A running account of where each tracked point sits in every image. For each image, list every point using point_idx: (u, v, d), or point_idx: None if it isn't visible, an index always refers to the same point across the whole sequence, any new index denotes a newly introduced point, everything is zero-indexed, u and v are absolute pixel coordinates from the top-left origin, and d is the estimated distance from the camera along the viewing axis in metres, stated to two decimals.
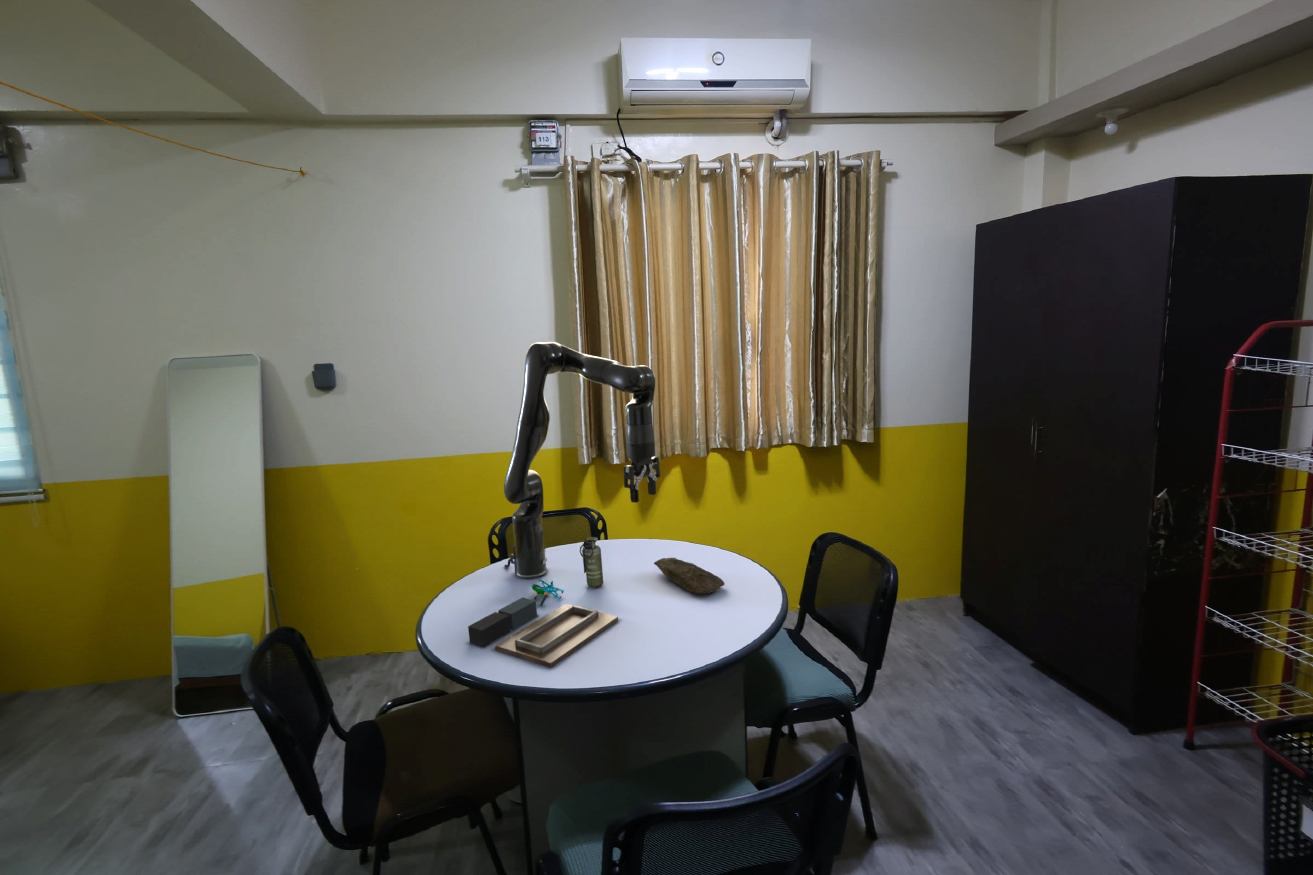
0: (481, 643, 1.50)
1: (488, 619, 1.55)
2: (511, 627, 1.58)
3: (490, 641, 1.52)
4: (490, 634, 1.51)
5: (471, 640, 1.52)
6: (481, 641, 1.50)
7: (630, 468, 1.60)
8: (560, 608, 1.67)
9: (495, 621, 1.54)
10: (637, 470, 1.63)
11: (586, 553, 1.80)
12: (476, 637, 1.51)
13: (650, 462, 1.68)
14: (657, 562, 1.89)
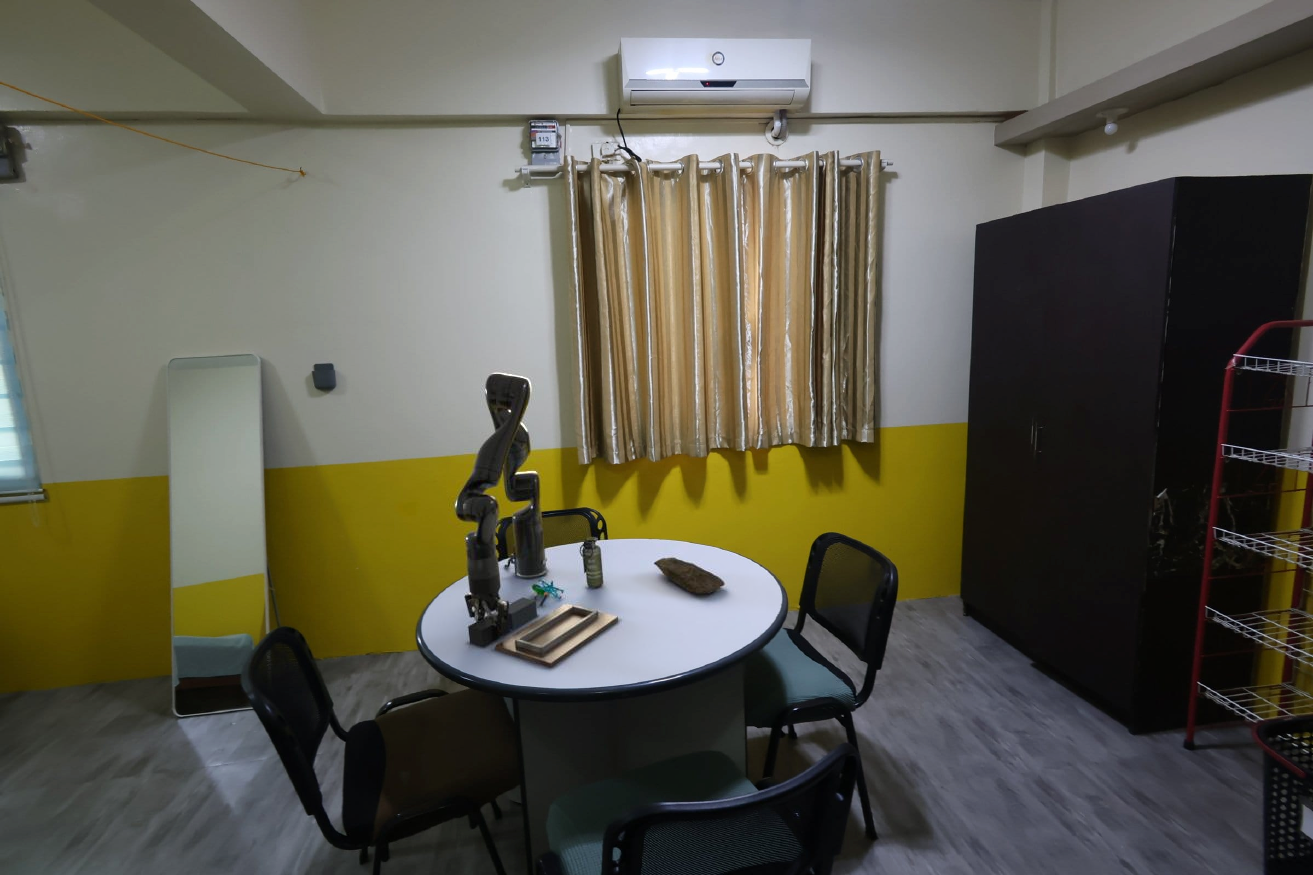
0: (481, 643, 1.50)
1: (488, 619, 1.55)
2: (511, 627, 1.58)
3: (490, 641, 1.52)
4: (490, 635, 1.51)
5: (471, 640, 1.52)
6: (481, 641, 1.50)
7: None
8: (560, 608, 1.67)
9: None
10: (474, 599, 1.54)
11: (586, 553, 1.80)
12: (476, 637, 1.51)
13: (490, 602, 1.51)
14: (657, 562, 1.89)
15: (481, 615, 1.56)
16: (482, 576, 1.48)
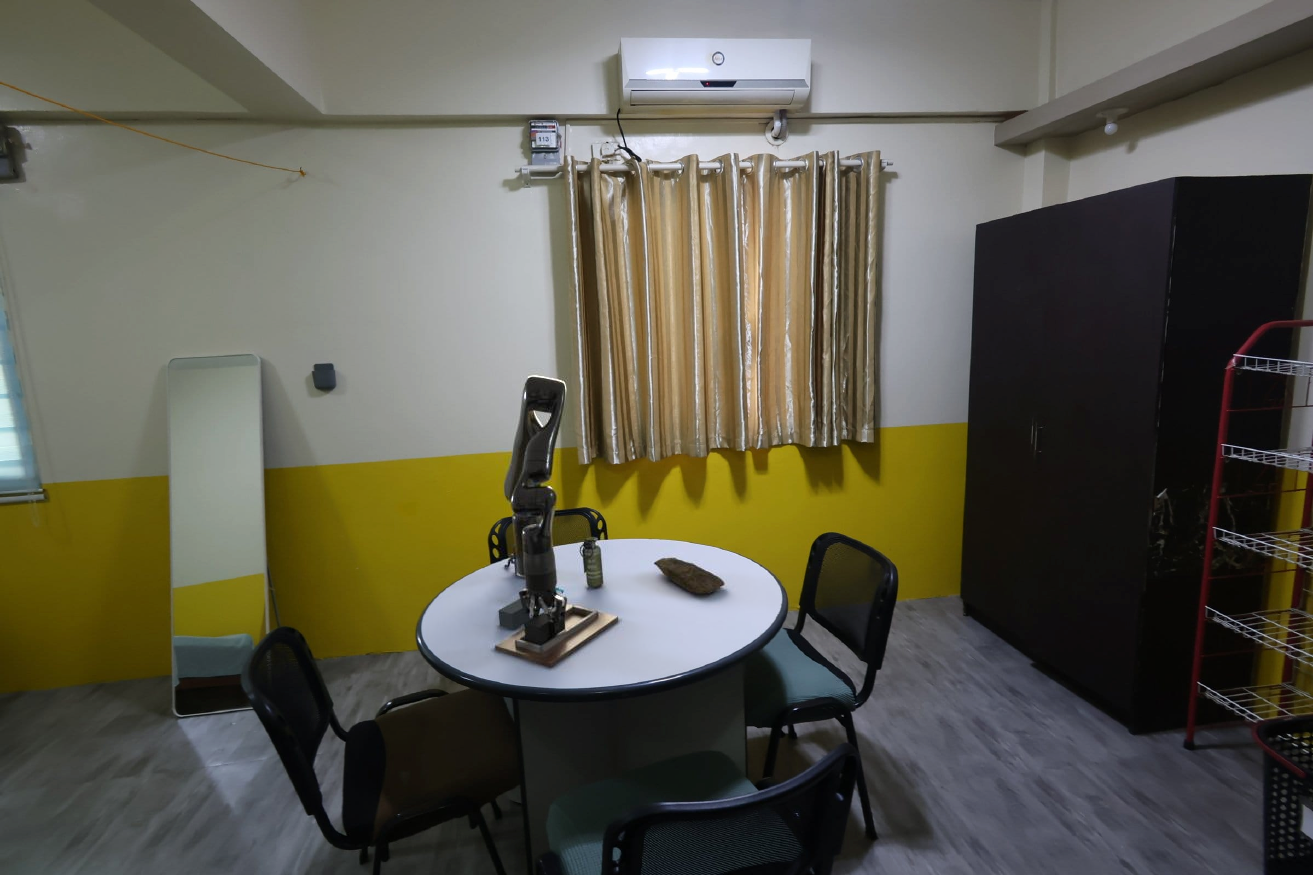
0: (538, 641, 1.45)
1: (543, 616, 1.50)
2: (511, 627, 1.58)
3: (547, 638, 1.47)
4: (546, 632, 1.47)
5: (527, 637, 1.47)
6: (538, 638, 1.45)
7: None
8: None
9: None
10: (529, 595, 1.50)
11: (586, 553, 1.80)
12: (533, 635, 1.46)
13: (547, 598, 1.46)
14: (657, 562, 1.89)
15: (536, 612, 1.51)
16: (540, 571, 1.44)
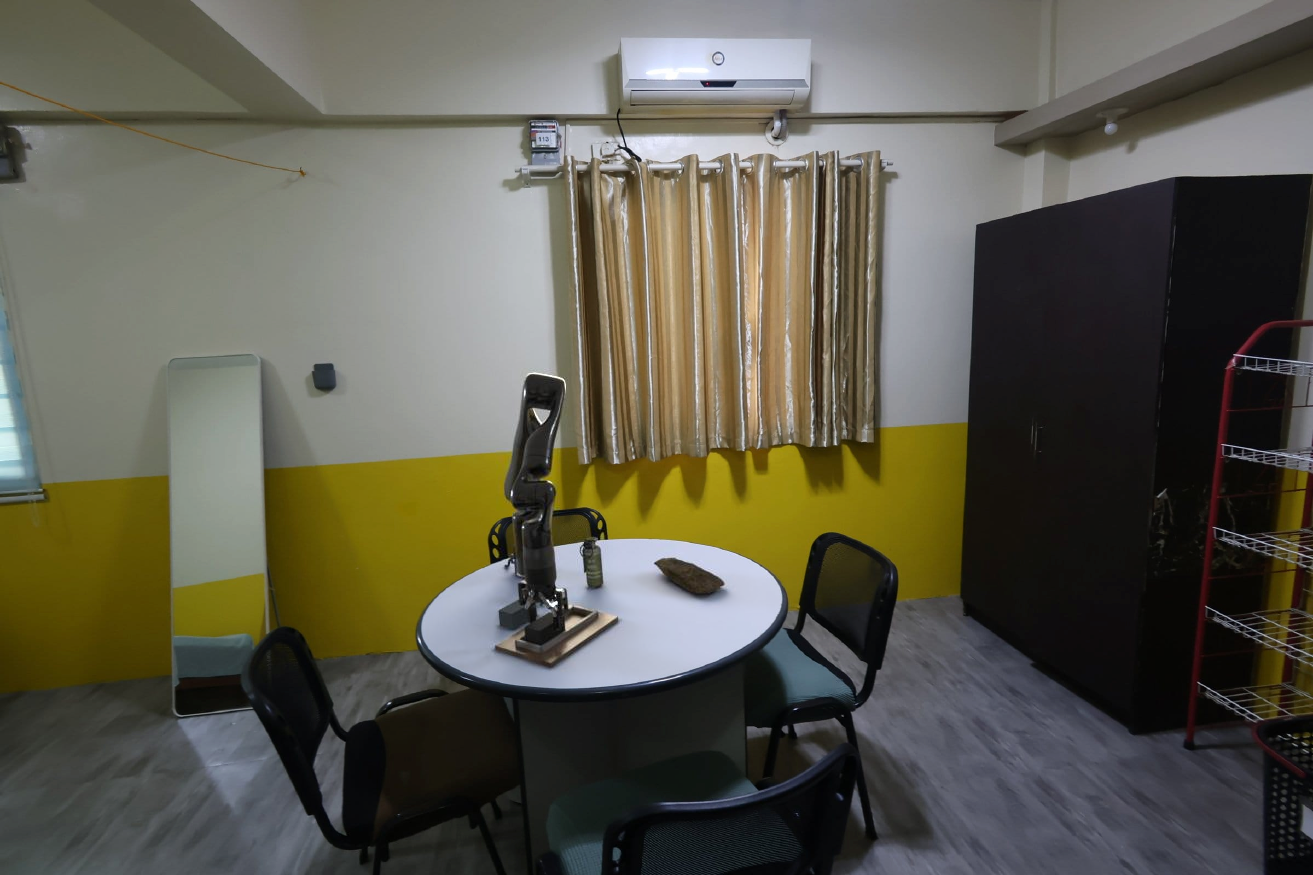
0: None
1: (544, 619, 1.50)
2: (511, 627, 1.58)
3: None
4: (547, 635, 1.47)
5: (527, 641, 1.47)
6: (538, 642, 1.45)
7: None
8: None
9: (551, 621, 1.49)
10: (528, 590, 1.50)
11: (586, 553, 1.80)
12: (533, 638, 1.46)
13: (547, 592, 1.46)
14: (657, 562, 1.89)
15: (531, 603, 1.52)
16: (539, 566, 1.44)
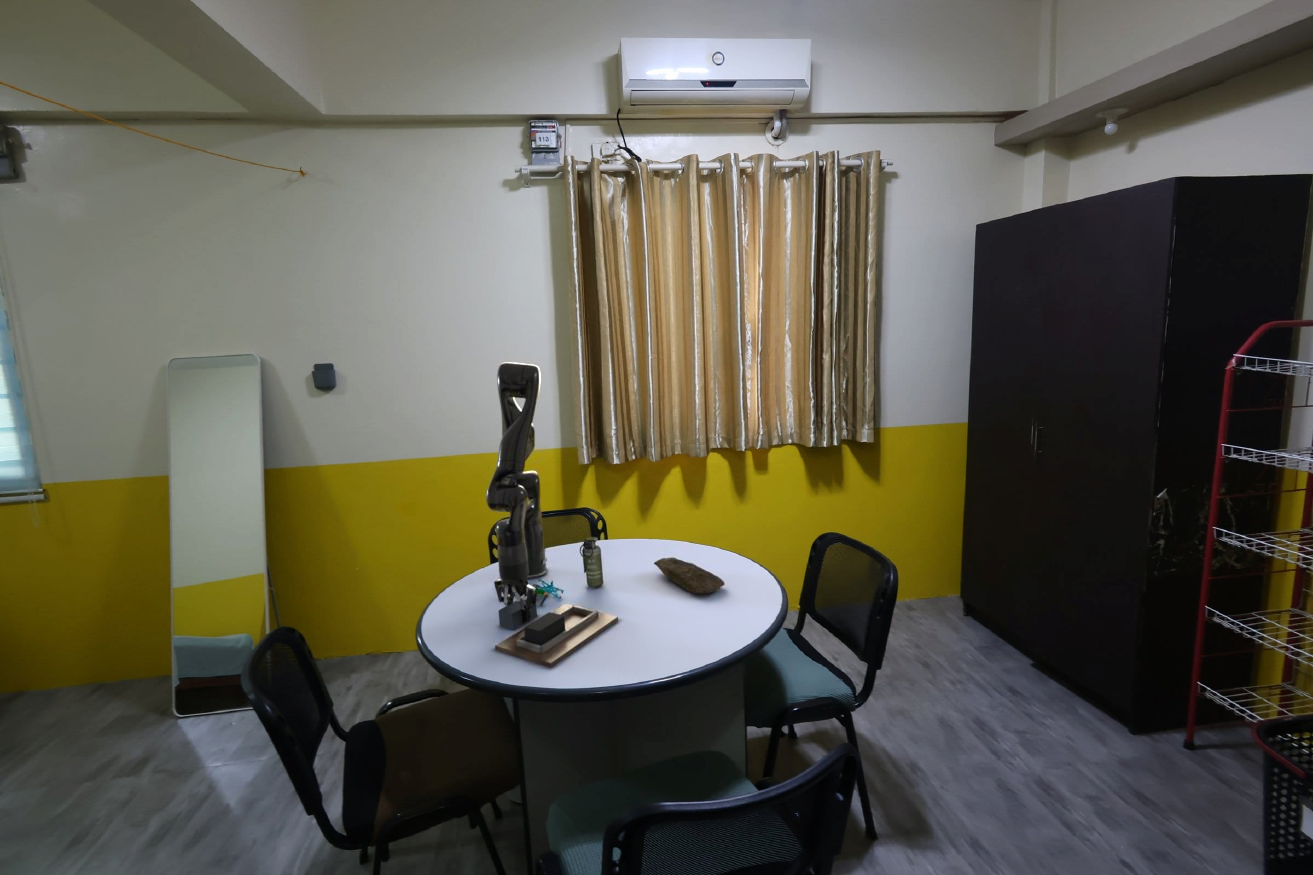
0: None
1: (544, 619, 1.50)
2: (511, 627, 1.58)
3: None
4: (547, 635, 1.47)
5: (527, 641, 1.47)
6: (538, 642, 1.45)
7: None
8: (560, 608, 1.67)
9: (551, 621, 1.49)
10: None
11: (586, 553, 1.80)
12: (533, 638, 1.46)
13: (520, 587, 1.59)
14: (657, 562, 1.89)
15: (510, 600, 1.64)
16: (512, 562, 1.57)
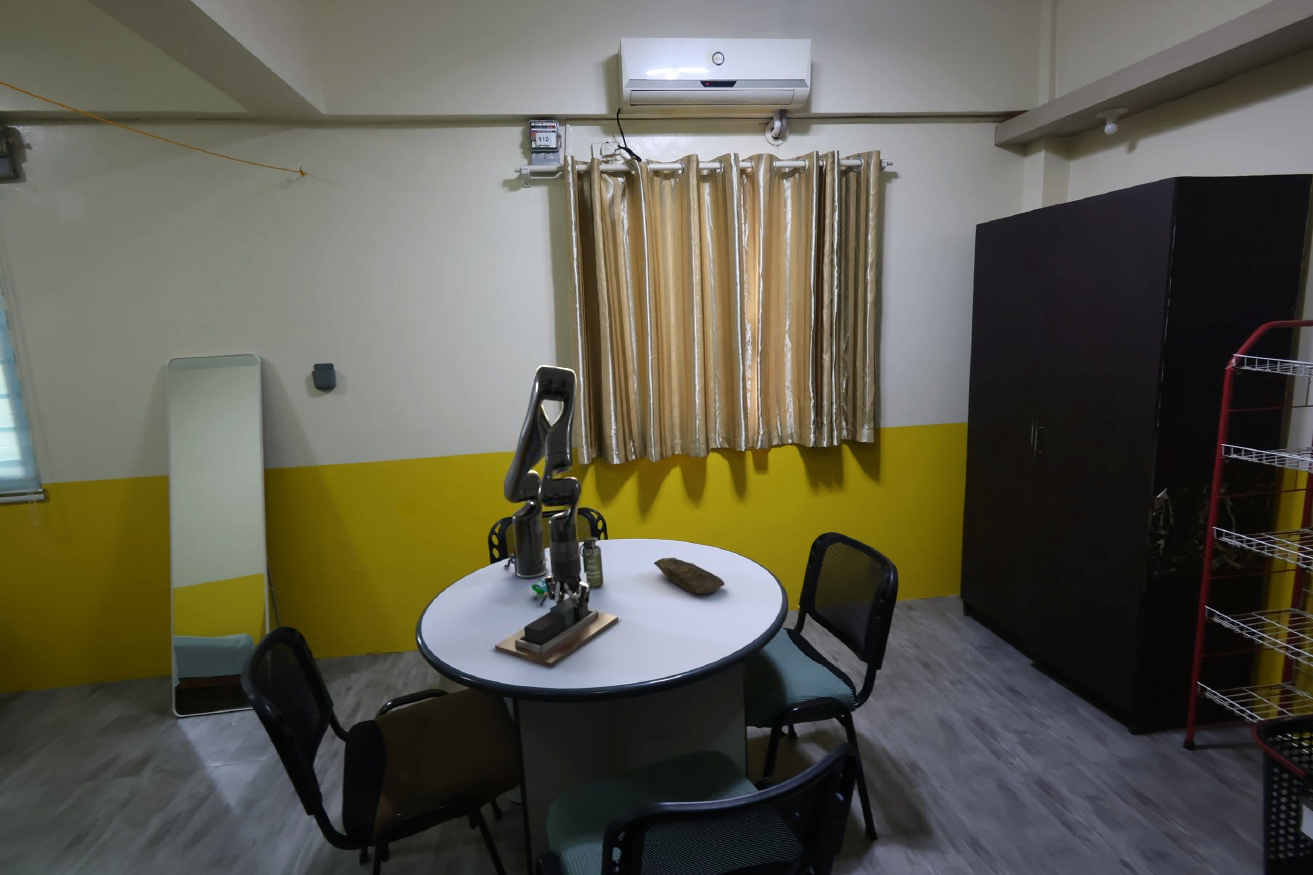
0: None
1: (544, 619, 1.50)
2: None
3: None
4: (547, 635, 1.47)
5: (527, 641, 1.47)
6: (538, 642, 1.45)
7: None
8: None
9: (551, 621, 1.49)
10: (554, 582, 1.57)
11: (586, 553, 1.80)
12: (533, 638, 1.46)
13: (572, 585, 1.54)
14: (657, 562, 1.89)
15: (561, 598, 1.59)
16: (566, 559, 1.51)
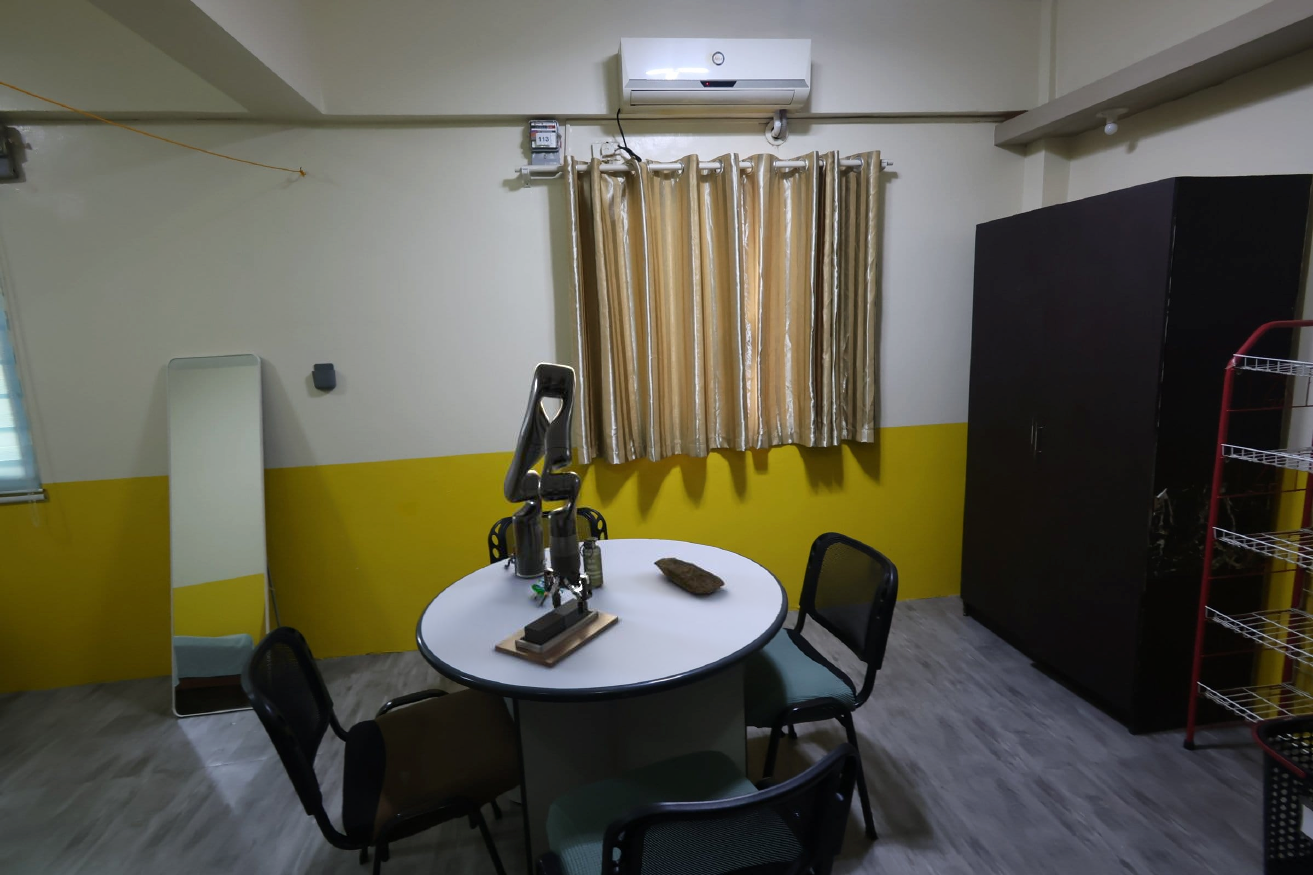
0: None
1: (544, 619, 1.50)
2: None
3: None
4: (547, 635, 1.47)
5: (527, 641, 1.47)
6: (538, 642, 1.45)
7: None
8: None
9: (551, 621, 1.49)
10: (554, 577, 1.57)
11: (586, 553, 1.80)
12: (533, 638, 1.46)
13: (572, 578, 1.54)
14: (657, 562, 1.89)
15: (556, 589, 1.59)
16: (565, 553, 1.51)
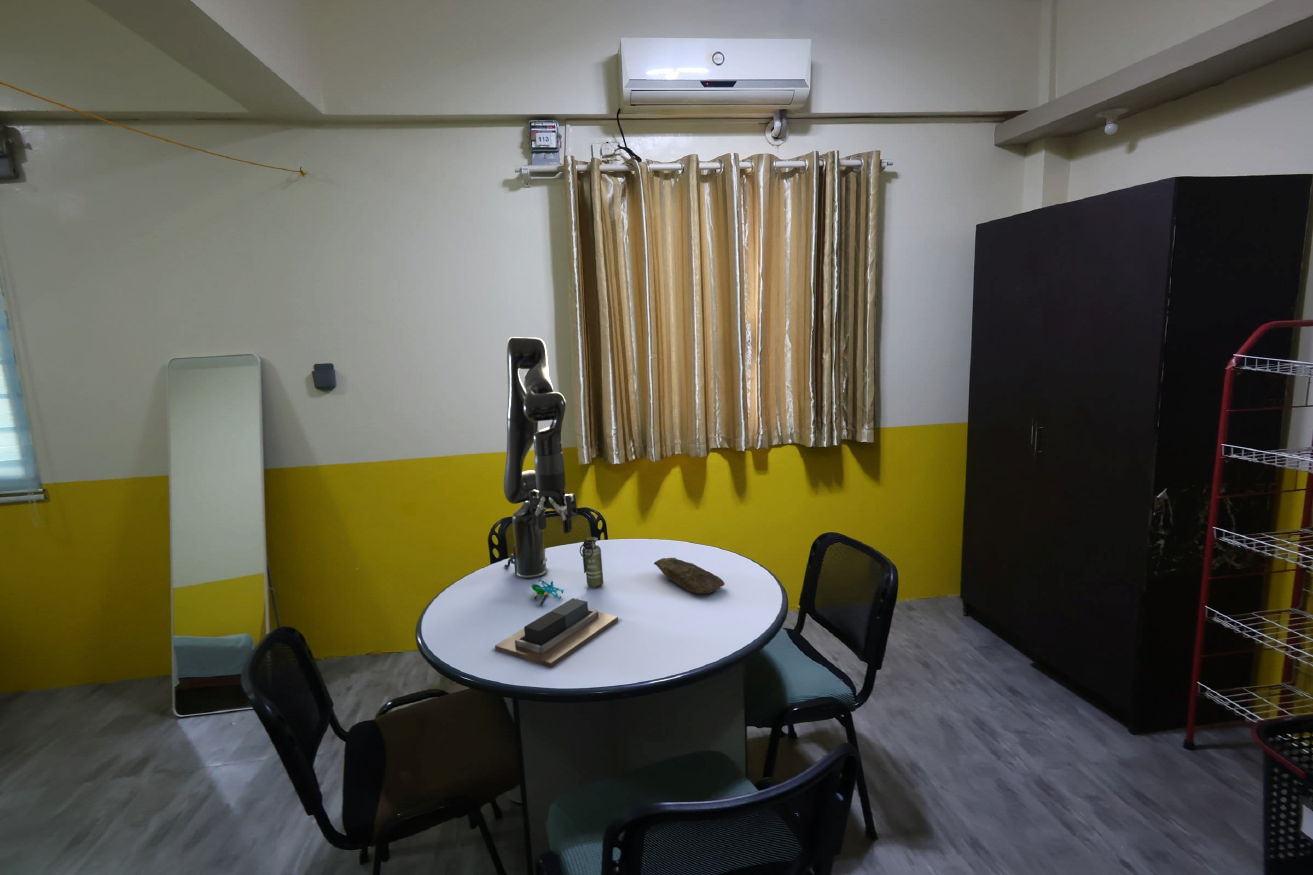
0: None
1: (544, 619, 1.50)
2: None
3: None
4: (547, 635, 1.47)
5: (527, 641, 1.47)
6: (538, 642, 1.45)
7: None
8: None
9: (551, 621, 1.49)
10: (539, 498, 1.60)
11: (586, 553, 1.80)
12: (533, 638, 1.46)
13: (556, 497, 1.56)
14: (657, 562, 1.89)
15: (541, 510, 1.62)
16: (550, 472, 1.54)
